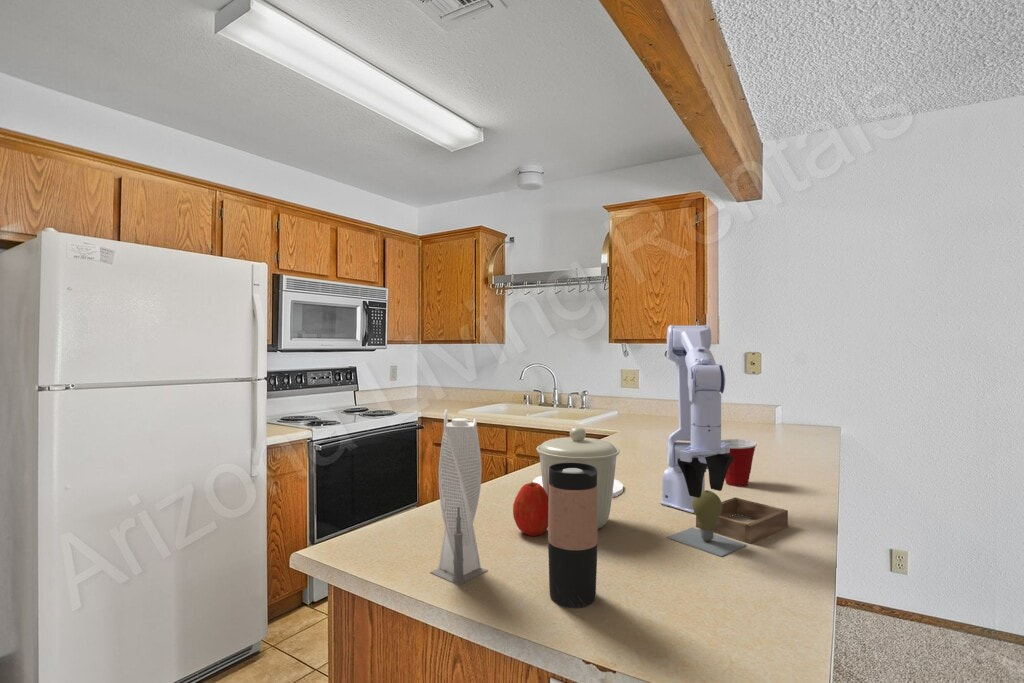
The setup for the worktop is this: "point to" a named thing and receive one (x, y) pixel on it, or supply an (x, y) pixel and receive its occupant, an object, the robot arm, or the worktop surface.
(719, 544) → the pad
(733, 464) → the plastic cup
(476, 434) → the skyscraper
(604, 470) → the canister
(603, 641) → the worktop surface
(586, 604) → the travel mug
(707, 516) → the light bulb
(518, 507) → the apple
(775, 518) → the walnut box
